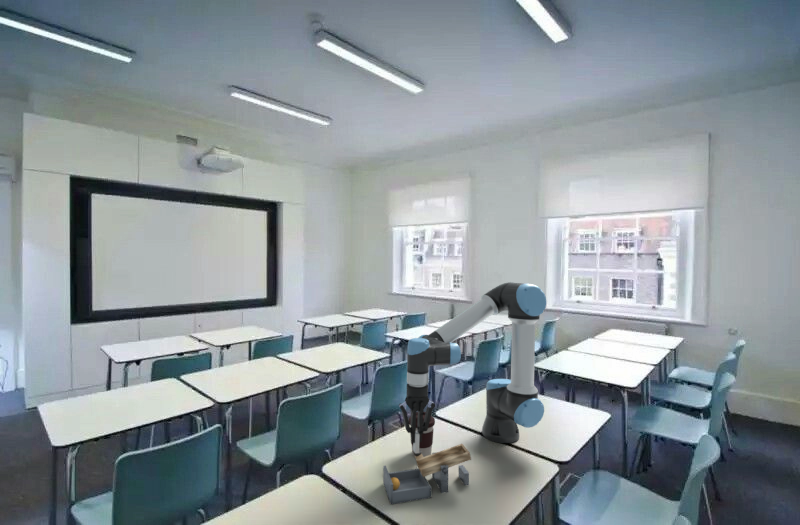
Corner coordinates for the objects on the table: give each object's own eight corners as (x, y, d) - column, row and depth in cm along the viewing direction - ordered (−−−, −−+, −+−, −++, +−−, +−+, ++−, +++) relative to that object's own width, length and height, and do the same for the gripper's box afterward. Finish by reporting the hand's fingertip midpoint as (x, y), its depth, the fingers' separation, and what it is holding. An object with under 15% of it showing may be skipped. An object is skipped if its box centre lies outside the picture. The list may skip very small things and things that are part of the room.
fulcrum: (438, 475, 129) (438, 451, 129) (449, 493, 119) (448, 466, 119) (431, 476, 128) (431, 452, 128) (441, 494, 119) (441, 467, 119)
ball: (399, 476, 122) (390, 473, 122) (402, 482, 119) (392, 479, 118) (395, 487, 122) (386, 484, 121) (398, 493, 119) (388, 490, 118)
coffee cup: (433, 462, 137) (433, 421, 137) (406, 459, 139) (406, 419, 139) (436, 449, 147) (436, 410, 147) (411, 446, 149) (411, 408, 149)
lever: (455, 440, 136) (453, 433, 136) (471, 459, 123) (469, 452, 123) (411, 455, 132) (410, 448, 132) (423, 477, 119) (421, 469, 119)
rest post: (462, 476, 128) (462, 465, 128) (469, 484, 124) (469, 473, 124) (458, 477, 128) (458, 465, 128) (464, 485, 123) (464, 473, 123)
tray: (421, 478, 127) (421, 460, 127) (431, 497, 117) (431, 478, 117) (383, 483, 124) (383, 465, 124) (390, 504, 114) (390, 484, 114)
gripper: (431, 379, 136) (430, 444, 136) (396, 381, 133) (395, 447, 133) (438, 386, 129) (437, 454, 129) (402, 388, 126) (400, 458, 126)
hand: (416, 451), depth 131 cm, fingers closed
